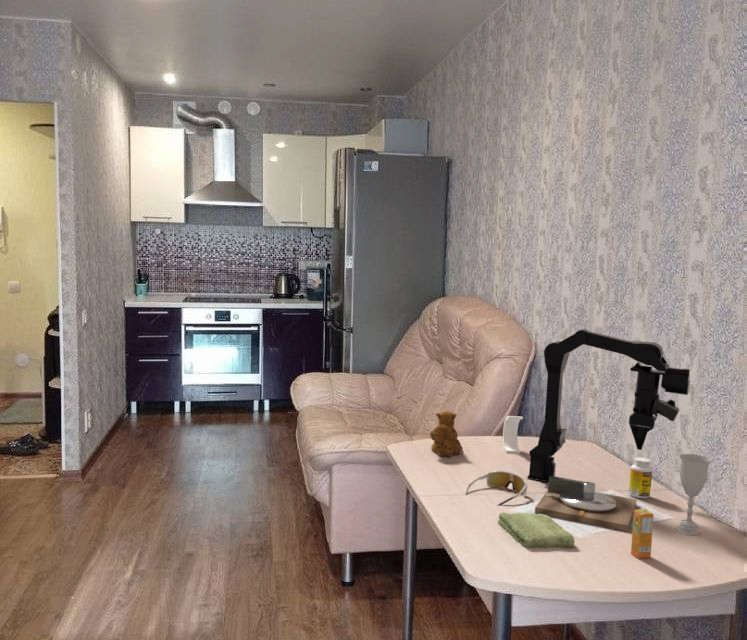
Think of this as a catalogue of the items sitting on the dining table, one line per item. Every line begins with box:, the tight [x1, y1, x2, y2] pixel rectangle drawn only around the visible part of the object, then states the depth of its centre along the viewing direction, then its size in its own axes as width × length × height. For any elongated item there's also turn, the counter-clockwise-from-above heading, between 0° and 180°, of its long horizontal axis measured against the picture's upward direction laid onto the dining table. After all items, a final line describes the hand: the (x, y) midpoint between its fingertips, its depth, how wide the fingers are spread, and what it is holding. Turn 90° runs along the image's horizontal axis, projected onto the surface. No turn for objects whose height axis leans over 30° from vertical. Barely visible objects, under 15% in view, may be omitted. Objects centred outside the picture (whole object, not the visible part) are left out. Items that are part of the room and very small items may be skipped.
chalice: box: [676, 453, 712, 536], centre depth 179 cm, size 7×7×18 cm
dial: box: [547, 475, 616, 512], centre depth 192 cm, size 17×14×5 cm
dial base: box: [534, 490, 637, 532], centre depth 192 cm, size 22×22×2 cm
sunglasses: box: [465, 469, 528, 506], centre depth 199 cm, size 14×15×5 cm
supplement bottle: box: [628, 457, 654, 500], centre depth 205 cm, size 6×6×10 cm
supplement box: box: [630, 508, 654, 560], centre depth 162 cm, size 3×3×10 cm
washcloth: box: [497, 512, 576, 549], centre depth 172 cm, size 13×18×3 cm
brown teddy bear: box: [429, 410, 463, 458], centre depth 236 cm, size 10×14×13 cm
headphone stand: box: [502, 415, 524, 454], centre depth 245 cm, size 5×6×12 cm
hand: (640, 445), depth 203 cm, fingers open, 9 cm apart
